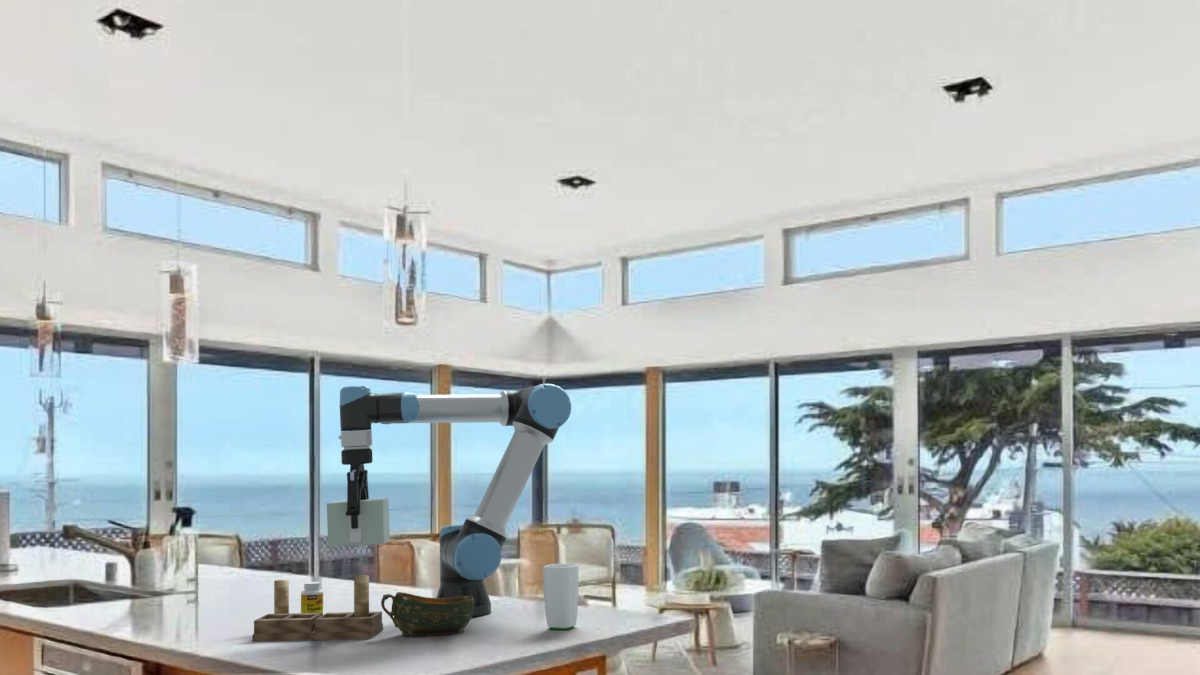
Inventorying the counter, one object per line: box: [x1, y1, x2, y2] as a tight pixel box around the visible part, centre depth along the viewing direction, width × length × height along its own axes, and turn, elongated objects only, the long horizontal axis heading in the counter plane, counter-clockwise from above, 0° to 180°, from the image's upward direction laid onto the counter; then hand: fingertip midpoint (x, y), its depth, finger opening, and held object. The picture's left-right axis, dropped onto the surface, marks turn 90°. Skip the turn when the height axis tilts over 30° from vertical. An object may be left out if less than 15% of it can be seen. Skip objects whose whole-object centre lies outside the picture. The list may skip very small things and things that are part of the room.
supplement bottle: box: [300, 581, 324, 614], centre depth 277 cm, size 6×6×10 cm
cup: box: [542, 563, 579, 630], centre depth 261 cm, size 7×7×15 cm
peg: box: [273, 579, 290, 614], centre depth 268 cm, size 4×4×12 cm
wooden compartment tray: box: [252, 574, 384, 642], centre depth 259 cm, size 28×12×14 cm, turn 89°
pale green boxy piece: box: [326, 498, 391, 548], centre depth 267 cm, size 14×9×10 cm, turn 92°
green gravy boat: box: [380, 591, 474, 638], centre depth 258 cm, size 13×20×10 cm, turn 78°
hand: (359, 540), depth 267 cm, fingers closed on pale green boxy piece, 9 cm apart
